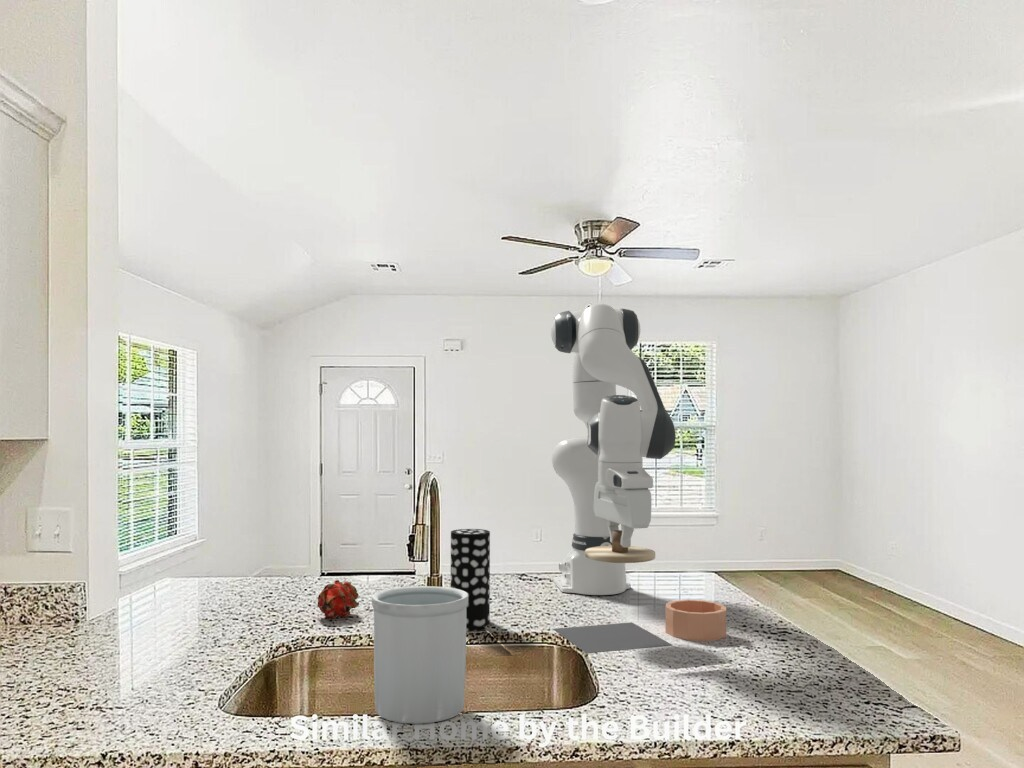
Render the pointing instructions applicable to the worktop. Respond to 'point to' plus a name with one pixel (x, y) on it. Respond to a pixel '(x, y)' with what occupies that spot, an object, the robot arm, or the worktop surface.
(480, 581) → the white-spotted black cylinder
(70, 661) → the worktop surface
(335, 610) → the dragon fruit
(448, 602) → the utensil holder
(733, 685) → the worktop surface
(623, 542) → the robot arm
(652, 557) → the lid
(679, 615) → the bowl
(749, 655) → the worktop surface
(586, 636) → the mat
